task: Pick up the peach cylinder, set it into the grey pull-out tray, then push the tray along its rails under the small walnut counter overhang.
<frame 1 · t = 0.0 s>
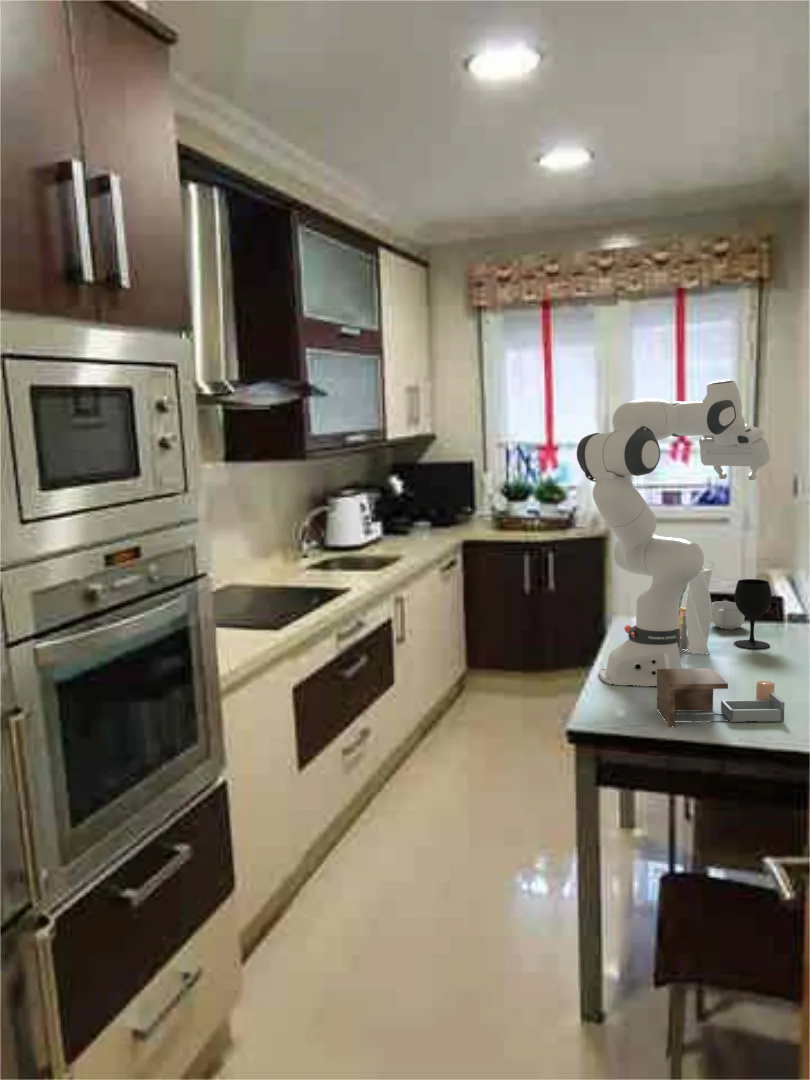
hand: (737, 478, 240), 52 cm above the table, tool tilted 20°, fingers open, 8 cm apart
teacup: (725, 628, 276), on the table
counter: (690, 717, 194), on the table
wine glass: (751, 646, 254), on the table
potted cactus: (670, 635, 269), on the table
tray: (752, 706, 193), point 3 cm above the table, slide at 9.5 cm
peach cylinder: (764, 707, 199), on the table
skyscraper: (697, 653, 249), on the table
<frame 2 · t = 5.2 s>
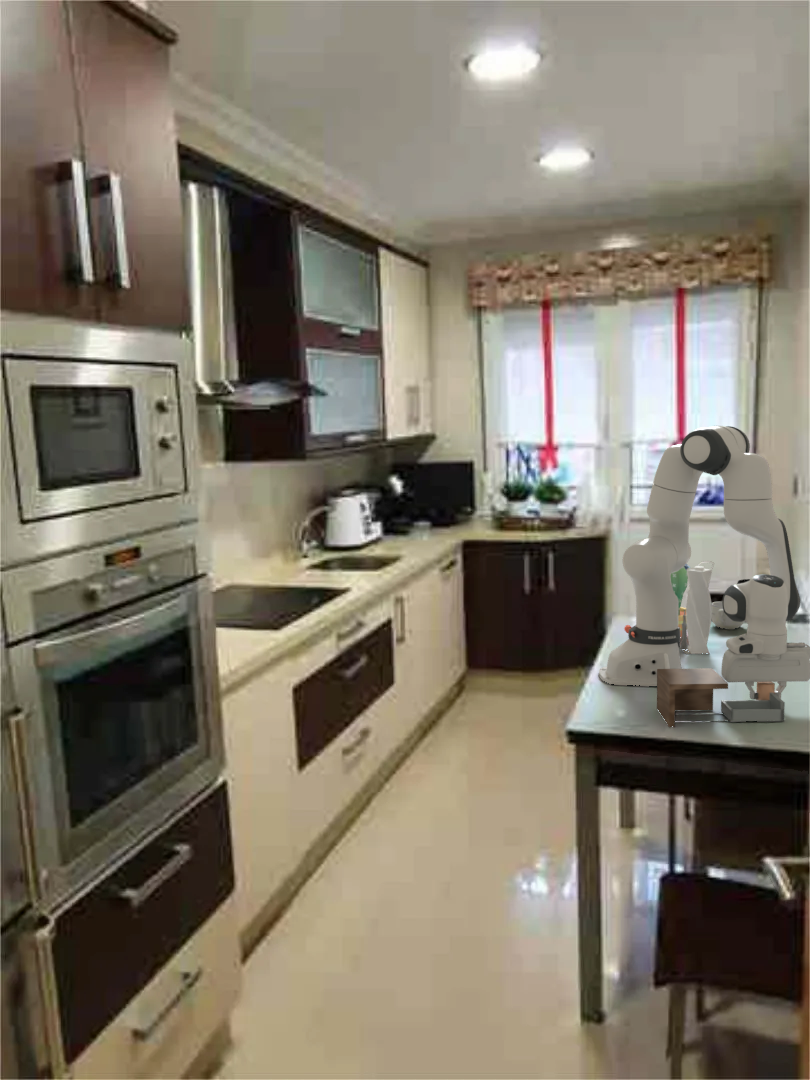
hand: (765, 698, 199), 2 cm above the table, tool pointing down, fingers closed on peach cylinder, 4 cm apart
peach cylinder: (765, 707, 199), on the table, touching gripper
everything else where it was.
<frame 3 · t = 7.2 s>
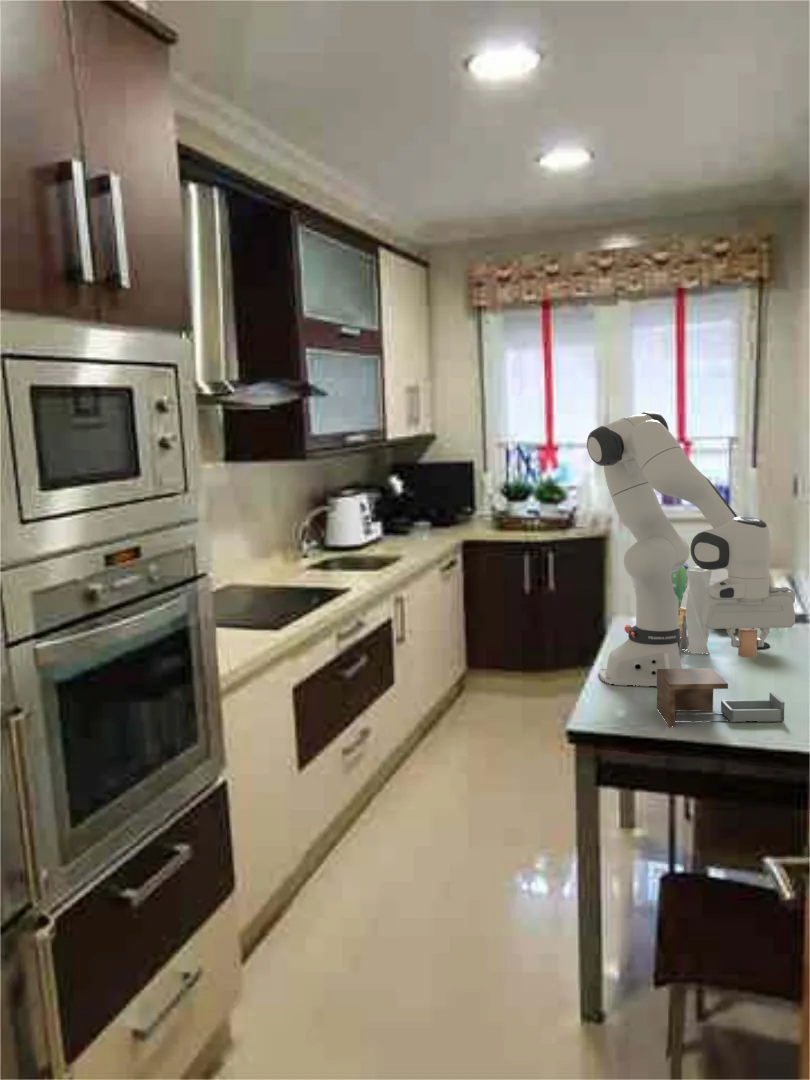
hand: (747, 646, 191), 17 cm above the table, tool pointing down, fingers closed on peach cylinder, 4 cm apart
peach cylinder: (747, 655, 191), point 15 cm above the table, touching gripper
everything else where it was.
when the fingers open (5 cm above the table, at t = 9.4 s): peach cylinder drops 2 cm, resting on tray.
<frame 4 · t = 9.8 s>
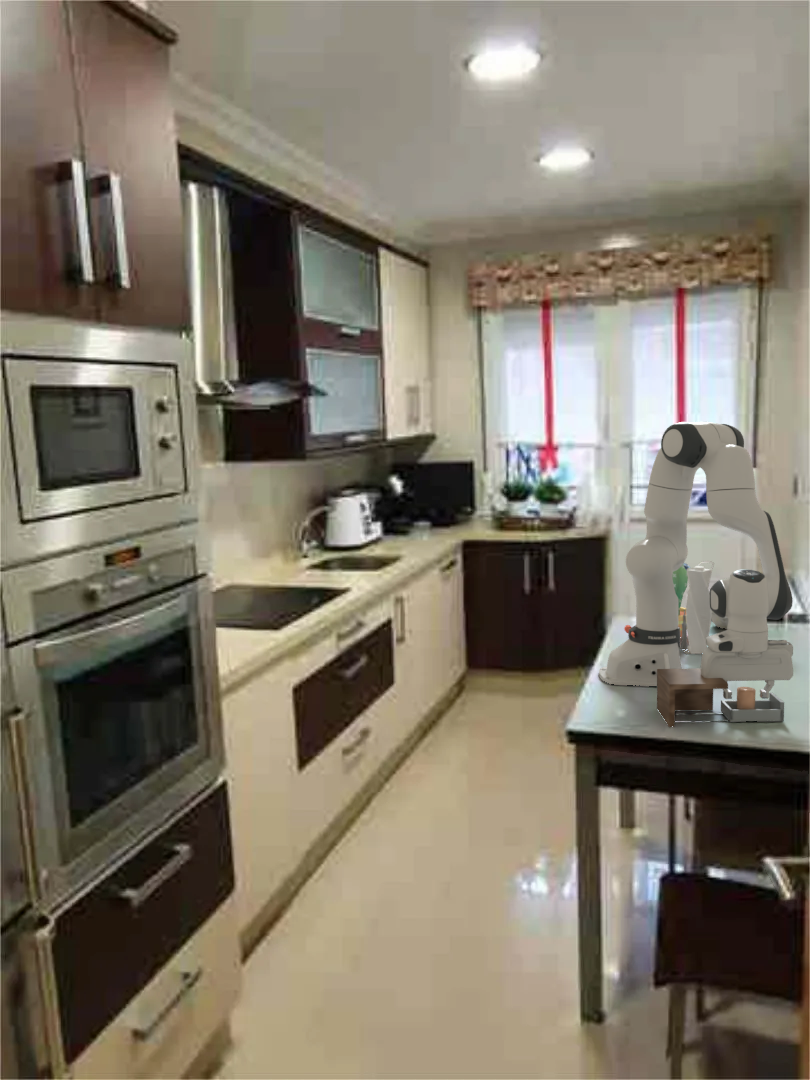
hand: (745, 698, 192), 5 cm above the table, tool pointing down, fingers open, 7 cm apart
tray: (751, 706, 193), point 3 cm above the table, slide at 9.4 cm, touching peach cylinder
peach cylinder: (745, 714, 193), point 1 cm above the table, touching tray
everything else where it was.
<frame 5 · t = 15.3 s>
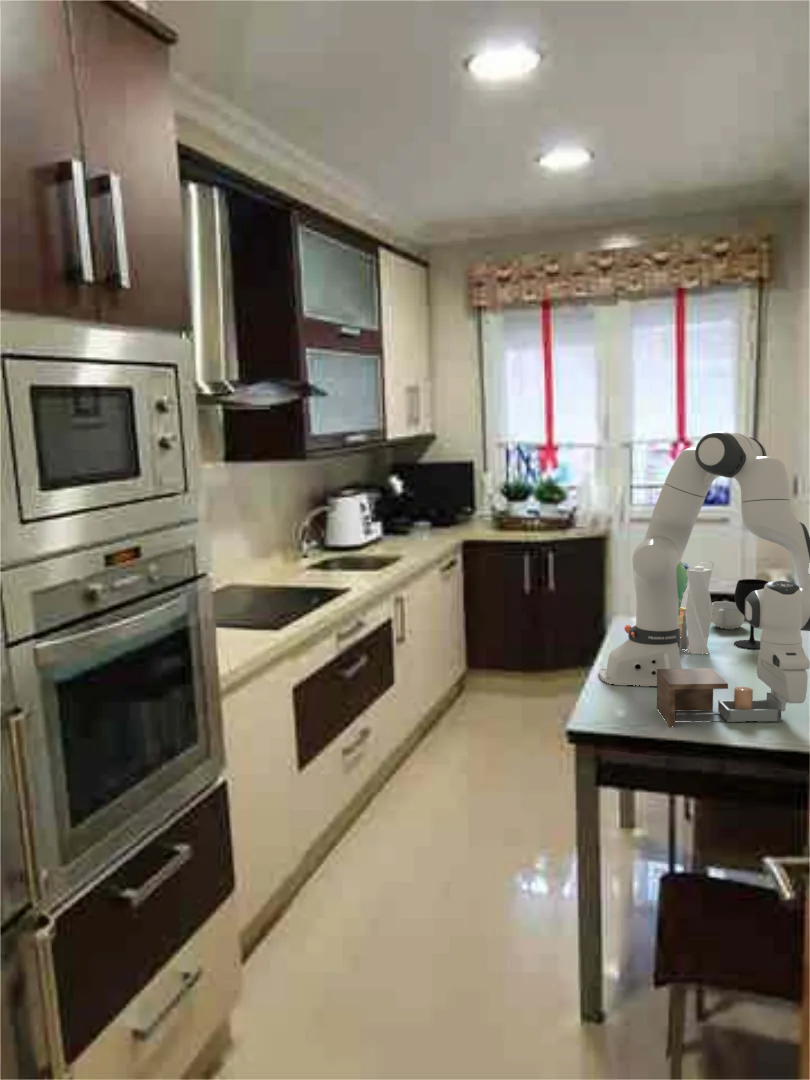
hand: (779, 709, 192), 2 cm above the table, tool pointing down, fingers closed, pressing on tray
tray: (749, 706, 193), point 3 cm above the table, slide at 8.8 cm, touching gripper, peach cylinder
everything else where it was.
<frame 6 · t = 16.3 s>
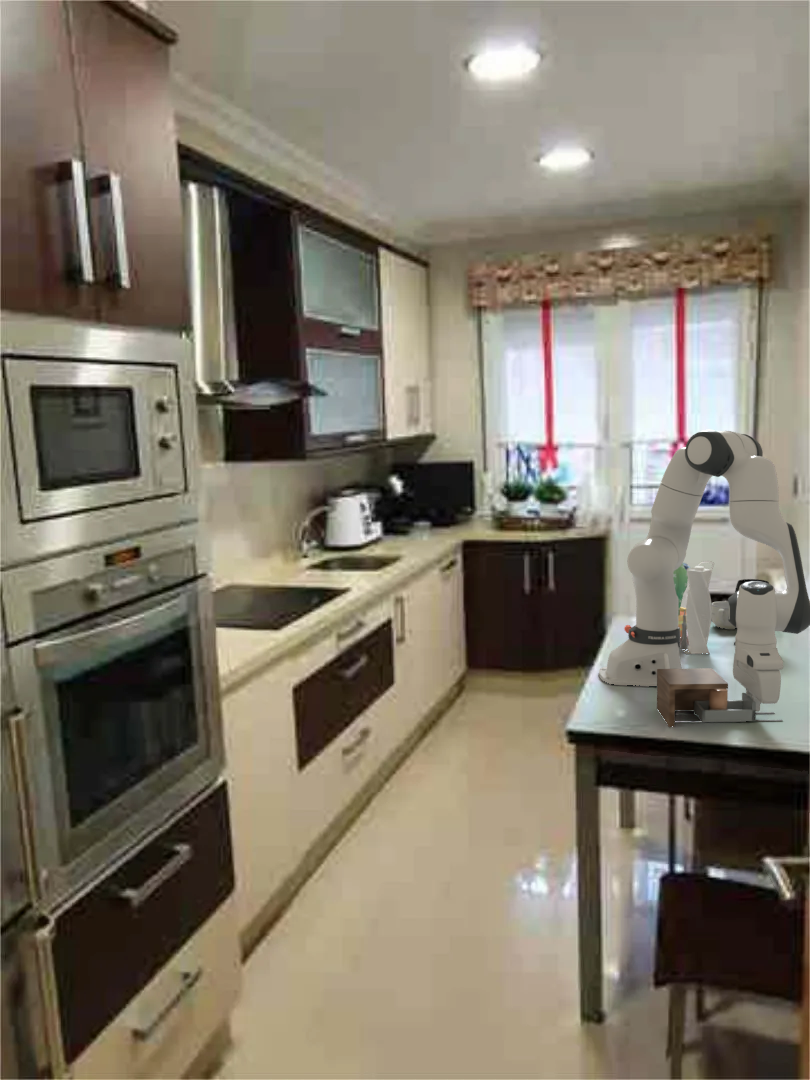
hand: (753, 709, 193), 2 cm above the table, tool pointing down, fingers closed
tray: (724, 707, 193), point 3 cm above the table, slide at 3.1 cm, touching gripper, peach cylinder
peach cylinder: (718, 714, 193), point 1 cm above the table, touching tray
everything else where it was.
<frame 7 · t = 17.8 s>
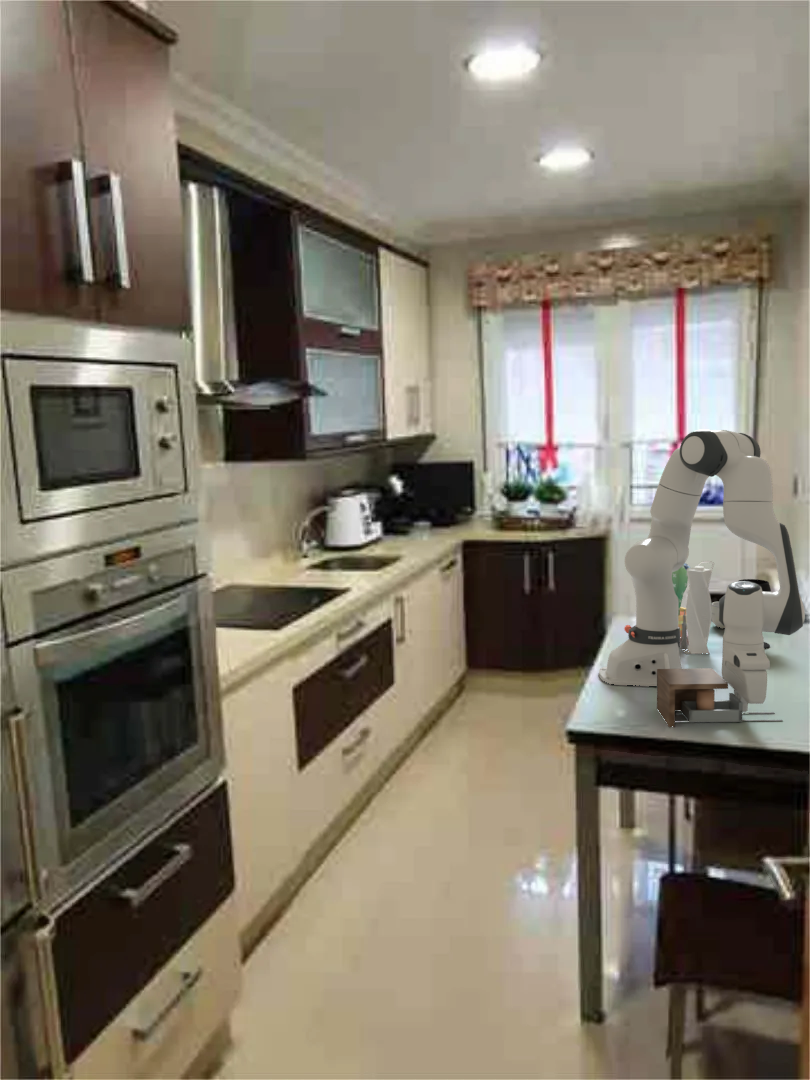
hand: (741, 709, 193), 2 cm above the table, tool pointing down, fingers closed
tray: (711, 707, 193), point 3 cm above the table, slide at 0.2 cm, touching peach cylinder
peach cylinder: (705, 714, 194), point 1 cm above the table, touching tray
everything else where it was.
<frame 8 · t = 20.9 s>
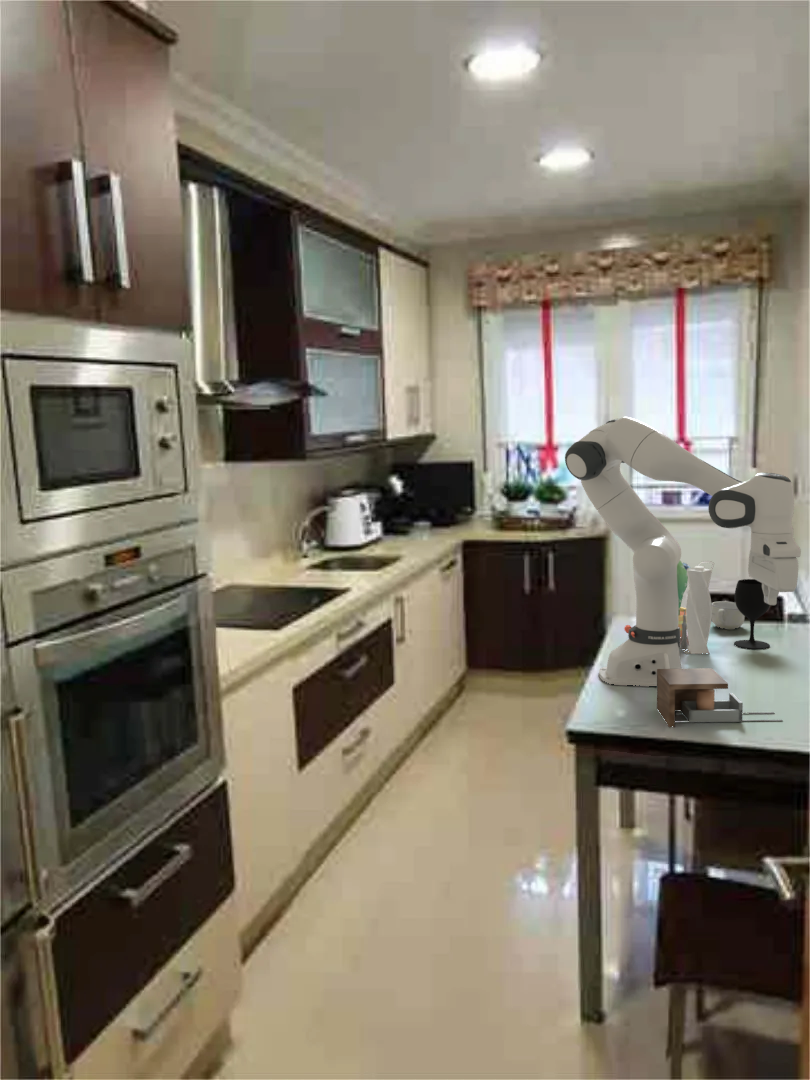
hand: (770, 603, 189), 27 cm above the table, tool pointing down, fingers closed
nothing on the table moved.
at the end: tray slide at 0.2 cm; peach cylinder inside the target area on the tray (1.4 cm from its centre), point 0.8 cm above the tray's base; peach cylinder tilted 0° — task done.
